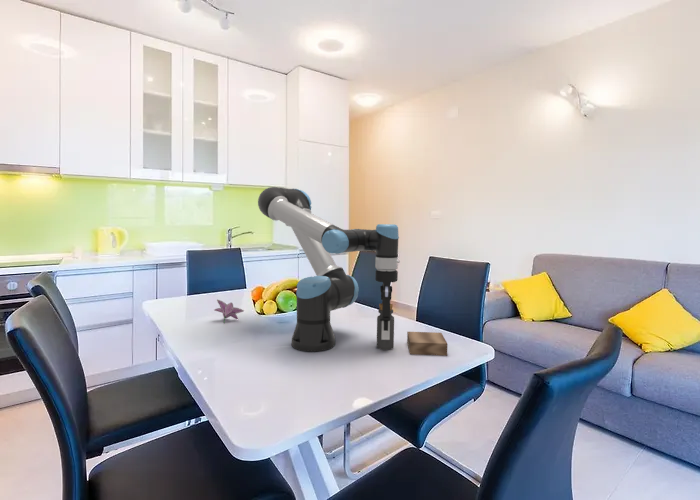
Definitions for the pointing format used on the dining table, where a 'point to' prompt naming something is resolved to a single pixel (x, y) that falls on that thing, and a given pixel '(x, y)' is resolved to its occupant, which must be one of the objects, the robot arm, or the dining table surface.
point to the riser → (426, 343)
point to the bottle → (381, 343)
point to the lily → (228, 310)
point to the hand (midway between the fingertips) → (385, 336)
